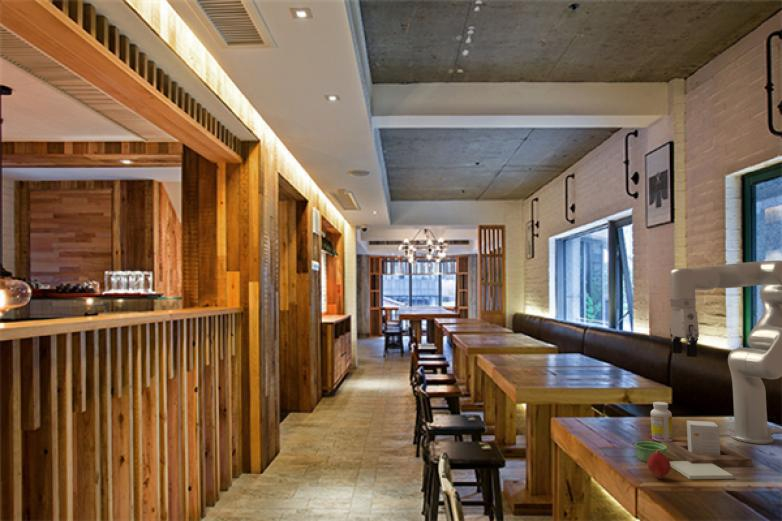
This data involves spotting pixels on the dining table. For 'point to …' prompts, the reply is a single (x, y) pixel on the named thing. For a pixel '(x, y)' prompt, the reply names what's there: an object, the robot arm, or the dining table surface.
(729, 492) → the dining table surface
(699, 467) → the cream square tile
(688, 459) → the holder block
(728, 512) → the dining table surface
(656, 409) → the supplement bottle
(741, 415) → the robot arm
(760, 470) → the dining table surface
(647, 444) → the ramekin
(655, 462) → the onion
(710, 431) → the small box
